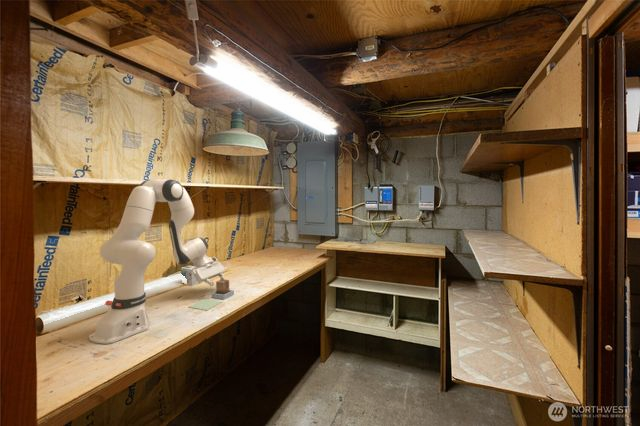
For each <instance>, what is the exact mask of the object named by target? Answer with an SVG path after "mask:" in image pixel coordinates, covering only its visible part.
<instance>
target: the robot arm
mask: <svg viewBox="0 0 640 426" xmlns="http://www.w3.org/2000/svg"><path fill="white" fill-rule="evenodd" d="M157 202H159V203H168V206H169V210H170V213H171V214H170V215H171V216H170V220H169V221H168V229H169V235H170V237H169V238H170V241H171V246H172V255H173V256H172V257H173V259H174V261H175V262H176V263H177V264H179V265H187V264H189V263H190V262H191V263H192V264H193V266H195V268H193V269H192V272H193V274H194V276H195V278H196V280H197V281H198V282H199V283H200V284H202V283H203V282H205V284H207V285H208V286H210V287H212V286H214V285H215V283H214V282H213V281H211V279H213V278H217V277H219V278H220V279H219V280H221V279H224V280H226V279H225V277H224V273H225V272H226V268H225V267H224V265H222V263H221V262H219V261H218V259H217V257H210V256H208V255H207V254H206V253H207V251H208V249H209V244H208V242H207V241H206V240H205V239H204V237H203V238H202V237H195V238H194V239H191V240H188V241H187V242H185V243H184V244H183V242H182V237H181V233H182V230H183V228H185V226H186V225H188V223H189V222H190V221H191V220H192V219H193V217H194V215H195V207H194V204H193V202H192V200H191V196H190V195H189V193H188V191H187V190H186V189H185V187H184V186H183V185H182V184H181V183H180V181H178V180H175V179H163V178H156V179H146V180H144V181H142V182H141V183H140V184H139V185H138V186H136V187H134V188H133V189H132V191H131V193H130V195H129V197H128V199H127V201H126V205H125V207H124V210H123V214H122V217H121V221H120V223H119V224H118V227H117V228H116V230H115V231H114V233H113V234H112V236H111V237H110V238H109V239H107V240H106V241H105V242H103V243H102V244H101V245H100V248H99V256H100V257H101V259H102V260H104V261H106V262H108V263H111V264H115V265H121V270H120V273H119V275H117V276H116V277H115V278H114V281H113V285H114V290H113V291H114V297H113V300H106V301H105V303H104V305H106V306H108V307H110V308H109V309H108V310H107V312H106V313H104V314H103V316H102V317H101V318H100V319H98V321H96V325H95V331H94V332H93V333H91V334H89V335H88V340H89V341H90V342H93V343H96V344H103V345H105V344H108V345H109V344H114V343H116V342H119V341H121V340H124V339H126V338H130V337H131V336H134V335H137V334H140V333H142V332H146V331H147V330H149V326H150V323H151V322H150V318H149V316H148V313H147V307H146V301H147V300H146V299H147V297H146V292H145V273H146V271H147V268H148V266H149V265H150V264H151V263H153V261H154V259H155V258H156V254H157V253H156V252H157V251H156V248H155V246H154V244H152V243H149V242H147V241H145V240H139V238H140V237H141V236H142V235H143V233H145V232H147V231H148V230H149V228H150V227H151V222H152V218H153V214H154V210H155V207H156V206H155V205H156V203H157Z"/></svg>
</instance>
